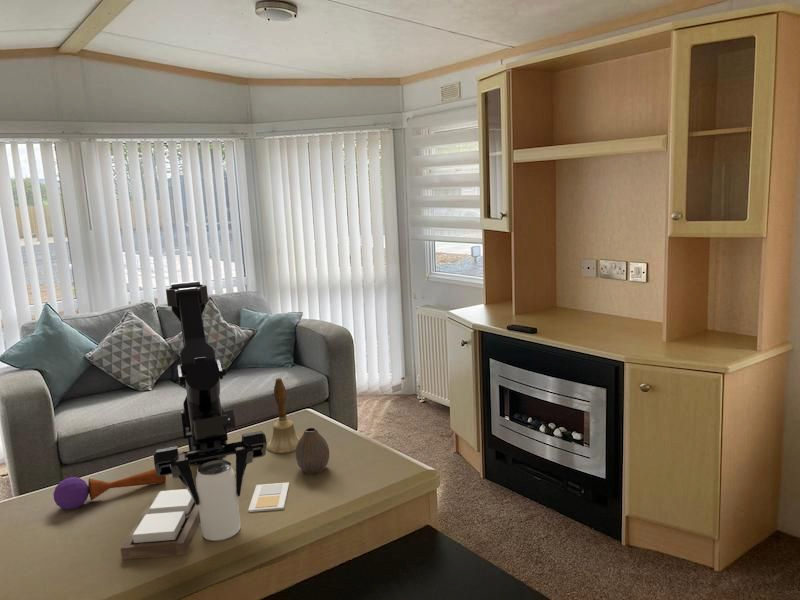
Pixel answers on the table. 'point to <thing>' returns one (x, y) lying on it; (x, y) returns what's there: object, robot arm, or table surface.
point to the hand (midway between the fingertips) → (218, 500)
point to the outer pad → (159, 527)
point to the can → (218, 500)
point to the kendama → (97, 488)
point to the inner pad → (172, 501)
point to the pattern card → (269, 497)
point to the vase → (312, 452)
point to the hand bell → (282, 425)
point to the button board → (162, 548)
